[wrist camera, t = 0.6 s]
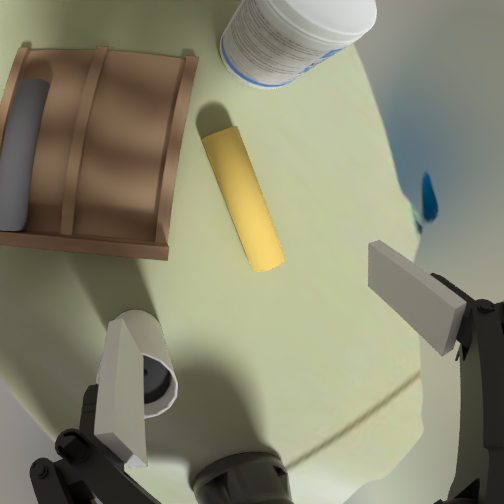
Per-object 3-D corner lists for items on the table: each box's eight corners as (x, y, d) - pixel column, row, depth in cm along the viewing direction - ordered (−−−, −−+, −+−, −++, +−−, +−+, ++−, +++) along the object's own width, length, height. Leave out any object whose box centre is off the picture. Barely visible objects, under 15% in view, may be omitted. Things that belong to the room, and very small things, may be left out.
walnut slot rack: (165, 253, 30) (167, 260, 27) (-12, 236, 23) (-26, 241, 20) (196, 62, 27) (202, 49, 24) (22, 52, 21) (12, 40, 17)
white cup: (94, 337, 29) (81, 391, 20) (130, 292, 30) (125, 335, 21) (143, 371, 32) (147, 430, 22) (179, 330, 32) (194, 381, 23)
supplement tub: (290, 102, 32) (377, 60, 18) (207, 77, 28) (255, 4, 15) (303, 36, 30) (380, -20, 17) (228, 9, 27) (280, -70, 13)
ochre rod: (270, 254, 35) (292, 256, 32) (245, 269, 33) (266, 273, 30) (225, 133, 31) (244, 123, 28) (195, 142, 29) (212, 132, 26)
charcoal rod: (31, 227, 25) (18, 232, 21) (3, 225, 24) (-12, 229, 20) (54, 88, 23) (44, 77, 19) (25, 89, 22) (12, 78, 18)
